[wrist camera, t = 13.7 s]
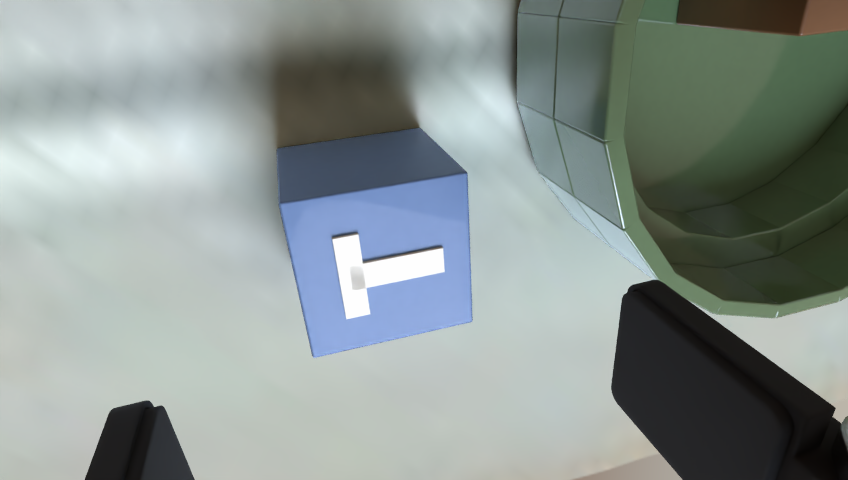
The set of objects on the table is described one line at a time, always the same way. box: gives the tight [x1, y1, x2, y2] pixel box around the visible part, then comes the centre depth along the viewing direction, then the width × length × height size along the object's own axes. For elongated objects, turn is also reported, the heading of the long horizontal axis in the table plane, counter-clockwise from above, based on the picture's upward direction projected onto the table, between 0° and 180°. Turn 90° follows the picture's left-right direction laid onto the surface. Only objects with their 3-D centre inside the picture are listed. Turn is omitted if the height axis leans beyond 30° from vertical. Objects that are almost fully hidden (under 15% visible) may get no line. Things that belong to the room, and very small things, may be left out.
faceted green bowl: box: [517, 0, 848, 318], centre depth 17 cm, size 18×18×6 cm
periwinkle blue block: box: [277, 128, 472, 357], centre depth 16 cm, size 5×5×5 cm
